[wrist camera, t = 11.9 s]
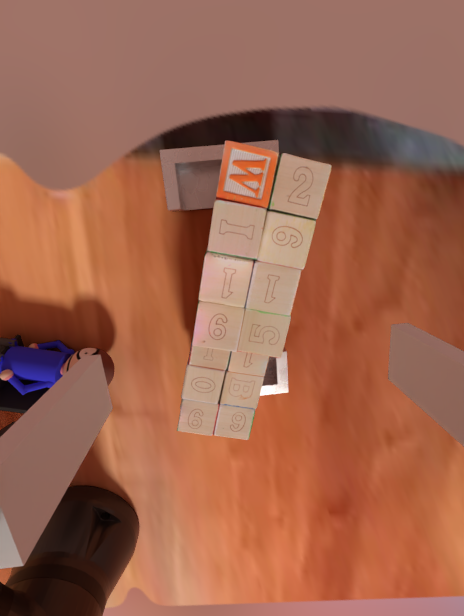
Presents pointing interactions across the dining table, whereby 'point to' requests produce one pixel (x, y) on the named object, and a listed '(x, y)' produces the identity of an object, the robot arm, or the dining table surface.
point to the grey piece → (276, 376)
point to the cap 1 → (196, 174)
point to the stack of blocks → (248, 283)
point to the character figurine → (37, 370)
